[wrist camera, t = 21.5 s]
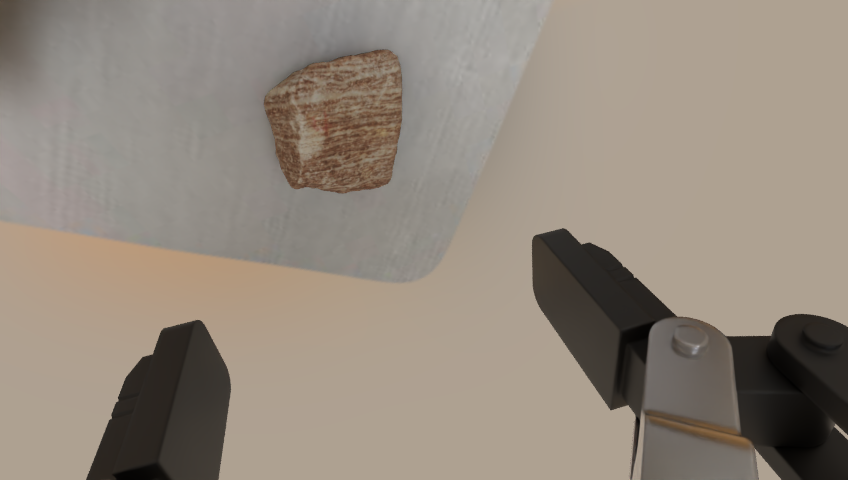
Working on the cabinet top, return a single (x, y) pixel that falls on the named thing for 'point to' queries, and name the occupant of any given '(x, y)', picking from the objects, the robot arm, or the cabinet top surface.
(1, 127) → the cabinet top surface
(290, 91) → the stone
